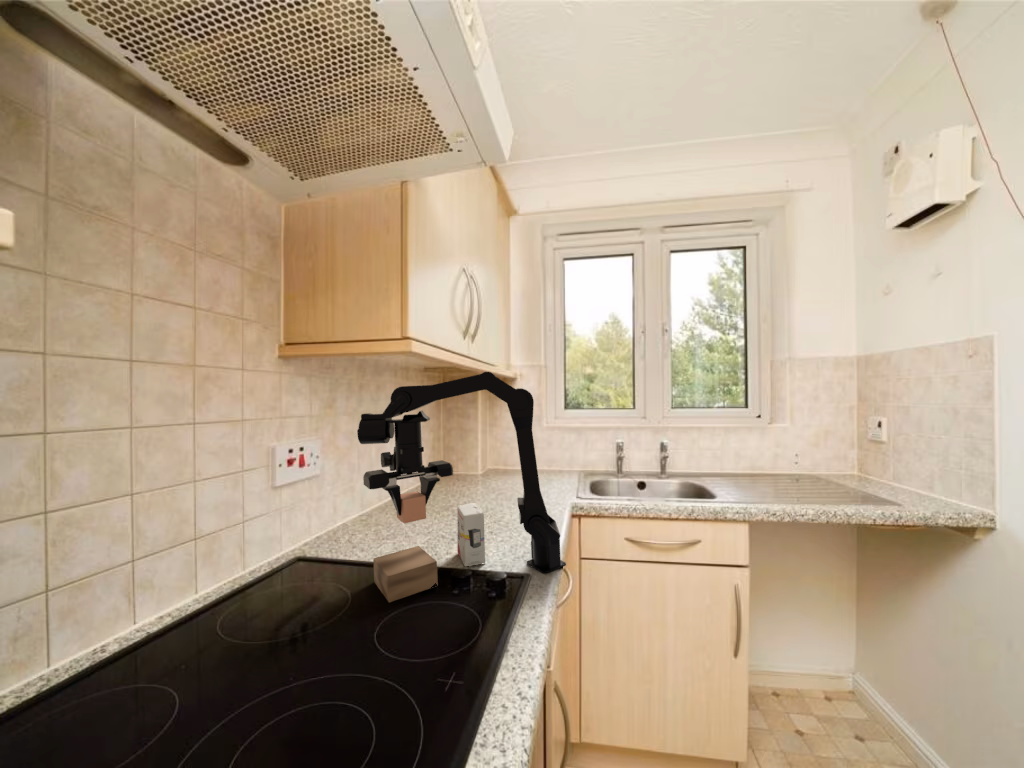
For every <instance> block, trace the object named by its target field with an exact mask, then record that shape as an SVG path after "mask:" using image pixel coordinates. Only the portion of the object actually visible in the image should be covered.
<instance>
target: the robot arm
mask: <svg viewBox="0 0 1024 768" xmlns="http://www.w3.org/2000/svg"><path fill="white" fill-rule="evenodd" d="M485 390H486V391H488V392H489V393H491V394H492V395H493V396H495V397H496V398H498V399H500V400H501V401H503V402H504V403H506V405H507V407H508V412H509V414H510V417H511V420H512V423H513V426H514V431H515V434H516V440H517V447H518V457H519V464H520V472H521V478H522V480H521V481H522V487H523V494H522V497H517V498H516V499H517V507H518V511H519V515H518V516H519V525H522V524H523V528H524V530H525V532H526V533H528V534H529V535H530V536H531V540H530V548H531V549H530V552H531V559H529V560H527V561H526V565H528V566H530V567H531V566H532V568H533V569H535V570H537V571H538V572H540V573H542V574H549V573H551V572H552V571H553V572H554V571H556V570H558V569H561V568H563V567H566V566H567V562H566V561H564V560H562V559H561V541H560V540H561V539H560V538H561V534H560V531H559V528H558V525H557V521H556V520H555V519H554V518H553V517H552V516H550V515H549V514H548V511H547V510H548V509H547V507H546V504H545V501H544V497H543V495H542V494H543V493H542V492H541V488H540V478H539V472H538V465H537V464H538V463H537V459H536V458H537V457H536V450H535V444H534V443H535V441H534V435H533V421H534V397H533V395H532V393H531V392H530V391H529V390H527V389H524V388H520V387H518V388H515V387H514V386H512V385H510V384H509V383H508V382H505V381H504V380H502V379H500V378H499V377H497V376H496V375H495V374H494V373H493V372H491V371H484V372H482V373H479V374H475V375H470V376H466V377H462V378H457V379H452V380H448V381H444V382H439V383H435V384H427V385H425V384H424V385H407V386H406V385H405V386H404V385H403V386H398V387H396V388H395V389H393V391H392V392H391V395H390V402H389V403H388V405H387V406H386V408H385V410H384V411H383V413H370V412H369V413H367V412H366V413H361V415H360V418H361V419H360V421H359V423H358V429H357V433H356V434H357V440H358V442H359V443H360V445H373V444H374V445H375V444H377V445H379V444H388V443H389V442H390V439H393V438H394V447H393V453H392V454H391V451H385V452H381V453H380V465H381V468H388V467H389V471H390V472H387V471H385V470H384V469H376V470H370V471H366V472H365V473H364V474H363V478H362V479H363V485H364V486H365V487H366V488H367V489H368V490H377V489H382V490H384V491H386V492H387V493H388V495H389V496H390V498H391V500H392V504H393V506H394V509H395V511H396V515H397V514H398V515H399V516H400V515H401V495H400V494H401V486H400V485H398V484H397V482H398V480H405V479H411V478H416V477H417V478H419V483H420V493H421V494H423V495H425V499H426V505H427V504H428V502H429V499H430V496H431V493H432V491H434V488H435V486H436V484H437V483H438V482H441V479H440V478H445V477H451V476H453V475H454V467H453V465H452V464H451V462H448V461H445V460H436V461H429V462H428V464H427V466H425V465H423V452H424V451H425V449H424V447H425V446H422V444H423V443H422V423H426V422H428V421H430V419H431V417H430V416H429V415H427V414H426V413H425V412H424V410H419V411H418V412H417V414H415V413H414V414H405V413H410V412H413V411H416V410H418V409H421V408H423V407H425V406H426V407H427V405H430V404H433V403H435V402H437V401H440V400H443V399H444V400H445V399H449V398H453V397H458V396H463V395H467V394H471V393H477V392H480V391H485ZM403 414H404V415H403ZM402 415H403V416H402ZM399 416H402V418H400V419H398V418H397V419H393V418H396V417H399ZM438 476H439V477H440V478H439V477H438Z"/></svg>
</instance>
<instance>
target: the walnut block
mask: <svg viewBox="0 0 1024 768" xmlns="http://www.w3.org/2000/svg"><path fill="white" fill-rule="evenodd" d="M438 579H439V578H438V561H437V560H436V559H435V558H434V557H432V556H431V555H430V554H429V553H428V552H426V551H425V550H424V549H423V548H422V547H421V546H419V545H417V546H413V547H409V548H406V549H401V550H399V551H394V552H391V553H389V554H387V553H386V554H384V555H381V556H378V557H374V558H373V582H374V584H375V585H376V586H377V589H379V590H380V593H381V594H382V595H383V597H384V598H385V599H386V601H387V602H388V603H392V602H395V601H398V600H400V599H403V598H406V597H410V596H412V595H416V594H417V593H421V592H424V591H427V590H429V589H432V588H433V587H432V586H433V585H434V584H435V583H436V584H437V586H436V587H438V585H439V582H438ZM431 587H432V588H431Z"/></svg>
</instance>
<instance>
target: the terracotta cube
mask: <svg viewBox="0 0 1024 768" xmlns="http://www.w3.org/2000/svg"><path fill="white" fill-rule="evenodd" d="M400 495H401V515H400V516H399V515H398V514H397V513H396V518H397V519H398V520H399V521H400V522H402V523H403V524H408V523H412V522H416V521H420V520H426V519H427V504H426V499H425V495H423V494H421V491H411V492H405V493H400Z"/></svg>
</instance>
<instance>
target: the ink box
mask: <svg viewBox="0 0 1024 768" xmlns="http://www.w3.org/2000/svg"><path fill="white" fill-rule="evenodd" d="M456 512H457V553H458V556H459V559H460V560H461V562H462V564H463V565H464V567H465V566H469V567H472V566H471V565H476V566H478V565H477V564H481V565H483V564H482V563H485V564H486V550H485V548H486V545H485V544H486V543H485V513H484V511H483V510H482V509H481V507H480V506H479V505H478V503H476V502H475V503H474V502H473V503H465V504H460V505H457V511H456Z"/></svg>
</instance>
